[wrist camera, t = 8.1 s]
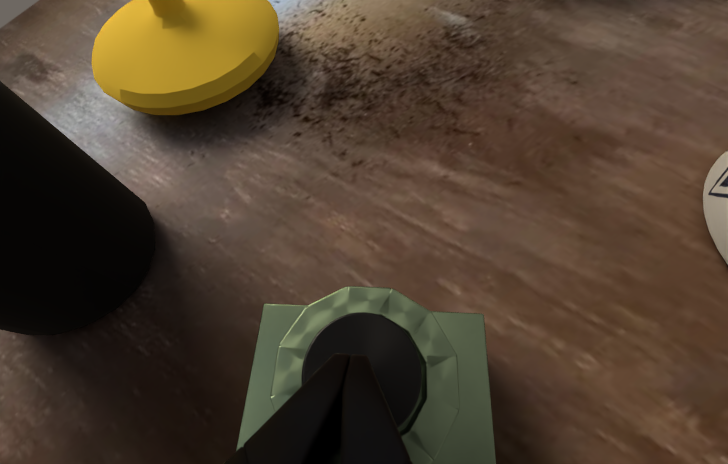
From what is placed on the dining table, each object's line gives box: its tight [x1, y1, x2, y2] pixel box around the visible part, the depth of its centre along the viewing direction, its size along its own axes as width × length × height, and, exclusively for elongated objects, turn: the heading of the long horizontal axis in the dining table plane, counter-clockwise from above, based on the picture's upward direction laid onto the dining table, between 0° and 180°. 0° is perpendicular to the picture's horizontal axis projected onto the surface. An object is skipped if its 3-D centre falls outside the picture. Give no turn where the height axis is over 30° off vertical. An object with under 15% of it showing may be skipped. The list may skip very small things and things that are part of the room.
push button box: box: [236, 286, 496, 464], centre depth 16 cm, size 10×10×8 cm
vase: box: [92, 0, 279, 115], centre depth 30 cm, size 16×16×7 cm
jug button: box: [301, 312, 422, 428], centre depth 13 cm, size 4×4×2 cm
